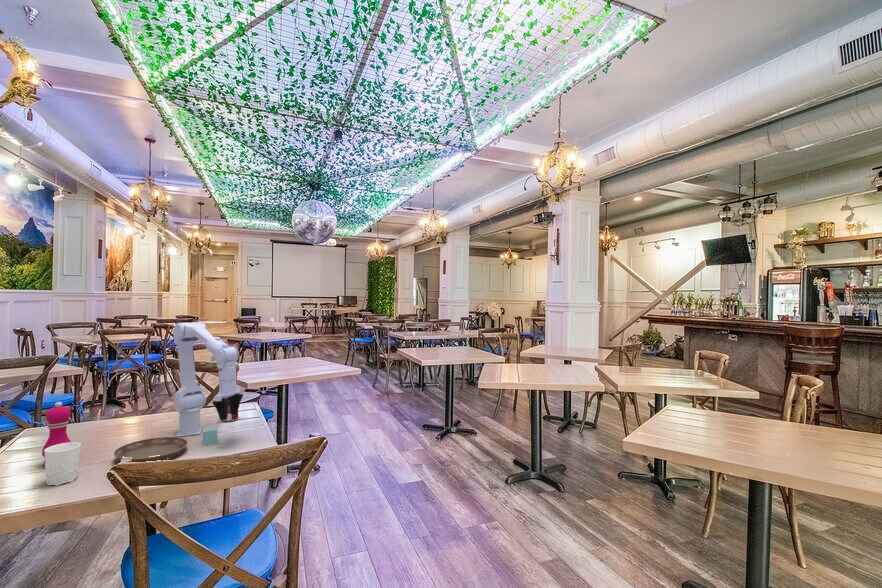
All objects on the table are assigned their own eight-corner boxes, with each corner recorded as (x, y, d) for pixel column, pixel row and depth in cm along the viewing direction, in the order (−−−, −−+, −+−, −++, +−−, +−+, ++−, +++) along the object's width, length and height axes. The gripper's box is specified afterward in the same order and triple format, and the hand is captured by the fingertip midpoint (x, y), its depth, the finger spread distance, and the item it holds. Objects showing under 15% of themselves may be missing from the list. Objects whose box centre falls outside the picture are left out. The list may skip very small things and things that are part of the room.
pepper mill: (70, 457, 137) (71, 397, 137) (74, 463, 132) (75, 401, 132) (40, 464, 131) (41, 402, 131) (43, 470, 127) (44, 406, 127)
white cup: (87, 474, 124) (87, 442, 124) (64, 487, 116) (64, 452, 116) (60, 474, 124) (61, 442, 124) (35, 487, 116) (36, 452, 116)
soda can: (230, 423, 176) (231, 395, 176) (217, 421, 177) (217, 394, 177) (241, 418, 182) (242, 391, 182) (228, 417, 184) (228, 390, 184)
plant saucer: (192, 442, 153) (192, 433, 153) (181, 463, 134) (181, 453, 134) (125, 449, 145) (125, 440, 145) (103, 472, 126) (103, 462, 126)
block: (203, 441, 154) (203, 428, 154) (217, 439, 156) (217, 426, 156) (202, 445, 150) (202, 432, 150) (216, 443, 152) (216, 430, 152)
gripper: (228, 382, 144) (229, 421, 143) (247, 376, 158) (249, 411, 158) (208, 383, 144) (209, 422, 143) (229, 377, 158) (231, 412, 158)
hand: (229, 416), depth 151 cm, fingers open, 7 cm apart
